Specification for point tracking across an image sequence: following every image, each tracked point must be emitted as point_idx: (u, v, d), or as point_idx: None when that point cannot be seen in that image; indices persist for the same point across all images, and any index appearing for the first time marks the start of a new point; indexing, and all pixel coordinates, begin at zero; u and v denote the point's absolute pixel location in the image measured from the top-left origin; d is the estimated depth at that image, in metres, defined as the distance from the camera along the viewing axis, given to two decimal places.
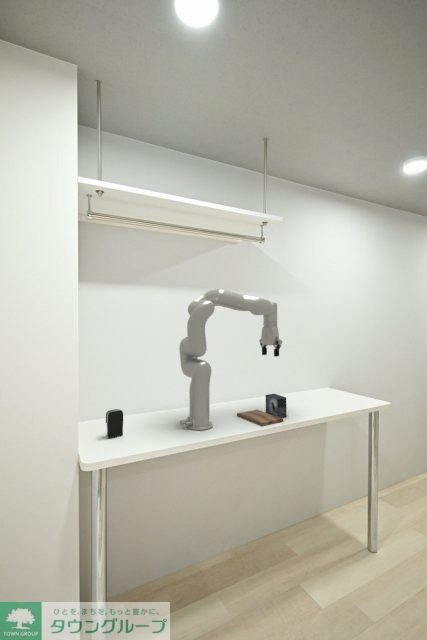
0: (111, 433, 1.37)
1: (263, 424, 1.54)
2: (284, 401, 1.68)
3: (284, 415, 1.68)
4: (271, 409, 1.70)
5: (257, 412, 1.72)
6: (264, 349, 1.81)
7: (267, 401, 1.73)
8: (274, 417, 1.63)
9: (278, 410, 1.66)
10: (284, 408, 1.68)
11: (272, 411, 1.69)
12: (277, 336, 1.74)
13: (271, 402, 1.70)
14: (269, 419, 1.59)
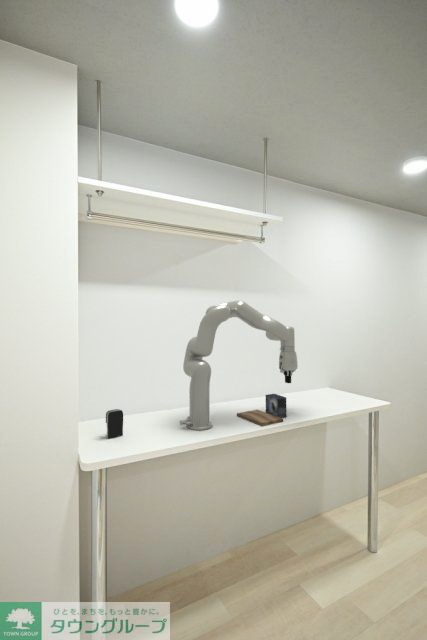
0: (111, 433, 1.37)
1: (263, 424, 1.54)
2: (284, 401, 1.68)
3: (284, 415, 1.68)
4: (271, 409, 1.70)
5: (257, 412, 1.72)
6: None
7: (267, 401, 1.73)
8: (274, 417, 1.63)
9: (278, 410, 1.66)
10: (284, 408, 1.68)
11: (272, 411, 1.69)
12: None
13: (271, 402, 1.70)
14: (269, 419, 1.59)
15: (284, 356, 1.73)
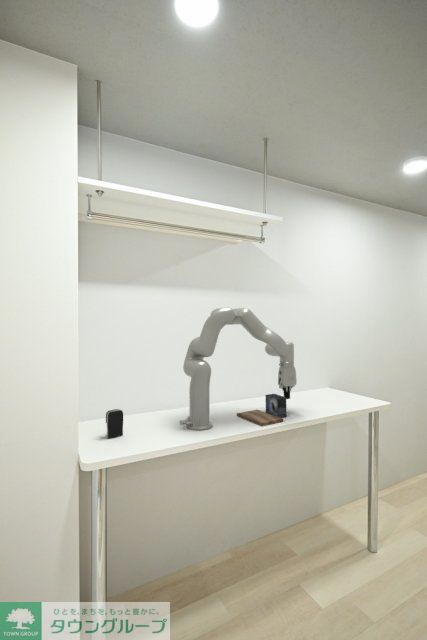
0: (111, 433, 1.37)
1: (263, 424, 1.54)
2: (284, 401, 1.68)
3: (284, 415, 1.68)
4: (271, 409, 1.70)
5: (257, 412, 1.72)
6: None
7: (267, 401, 1.73)
8: (274, 417, 1.63)
9: (278, 410, 1.66)
10: (284, 408, 1.68)
11: (272, 411, 1.69)
12: None
13: (271, 402, 1.70)
14: (269, 419, 1.59)
15: (283, 372, 1.72)
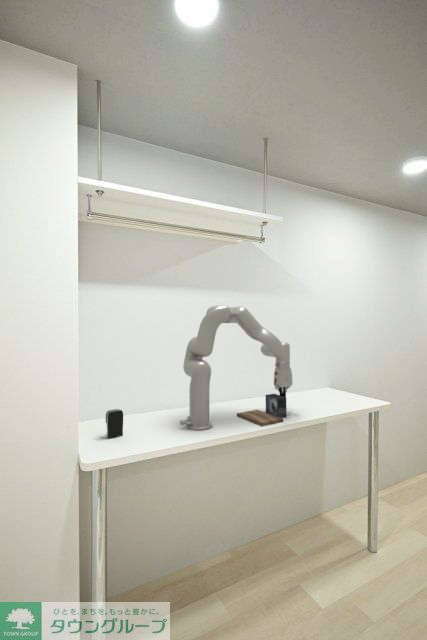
0: (111, 433, 1.37)
1: (263, 424, 1.54)
2: (284, 401, 1.68)
3: (284, 415, 1.68)
4: (271, 409, 1.70)
5: (257, 412, 1.72)
6: None
7: (267, 401, 1.73)
8: (274, 417, 1.63)
9: (278, 410, 1.66)
10: (284, 408, 1.68)
11: (272, 411, 1.69)
12: None
13: (271, 402, 1.70)
14: (269, 419, 1.59)
15: (279, 372, 1.70)
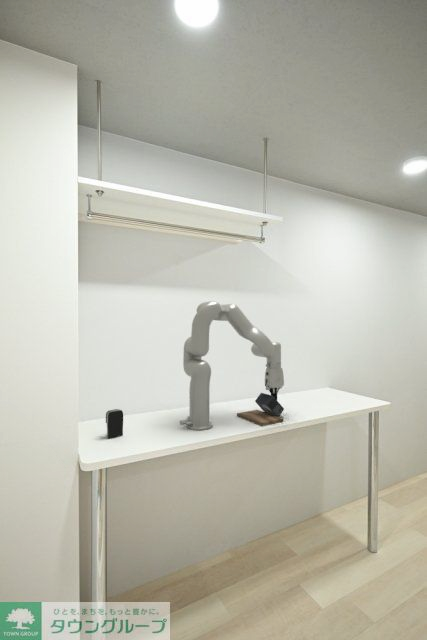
0: (111, 433, 1.37)
1: (263, 424, 1.54)
2: (274, 400, 1.65)
3: (281, 410, 1.67)
4: (268, 412, 1.69)
5: (257, 412, 1.72)
6: None
7: (260, 406, 1.71)
8: (274, 417, 1.63)
9: (273, 412, 1.65)
10: (277, 405, 1.66)
11: (270, 413, 1.68)
12: None
13: (264, 407, 1.67)
14: (269, 419, 1.59)
15: (270, 373, 1.67)
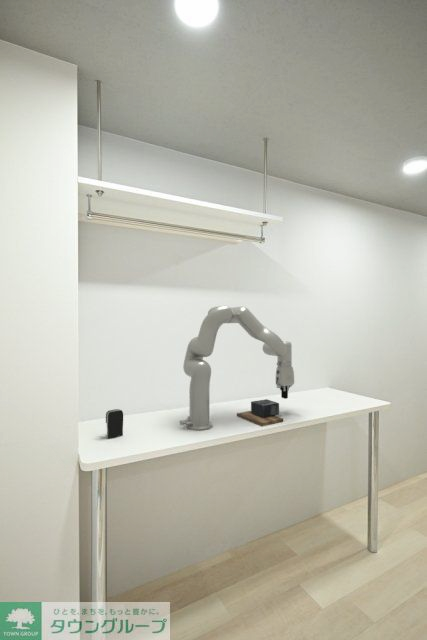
0: (111, 433, 1.37)
1: (263, 424, 1.54)
2: (266, 407, 1.62)
3: (277, 406, 1.66)
4: None
5: None
6: None
7: None
8: (274, 417, 1.63)
9: (272, 415, 1.64)
10: (271, 407, 1.64)
11: None
12: None
13: None
14: (269, 419, 1.59)
15: (281, 371, 1.71)
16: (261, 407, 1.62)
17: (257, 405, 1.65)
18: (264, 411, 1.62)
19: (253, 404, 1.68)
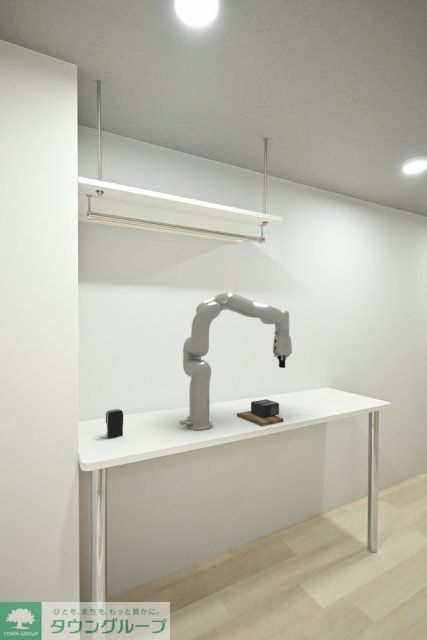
0: (111, 433, 1.37)
1: (263, 424, 1.54)
2: (265, 407, 1.62)
3: (277, 406, 1.66)
4: None
5: None
6: None
7: None
8: (274, 417, 1.63)
9: (272, 415, 1.64)
10: (271, 407, 1.64)
11: None
12: None
13: None
14: (269, 419, 1.59)
15: (278, 340, 1.70)
16: (261, 407, 1.62)
17: (257, 405, 1.65)
18: (264, 411, 1.62)
19: (253, 404, 1.68)
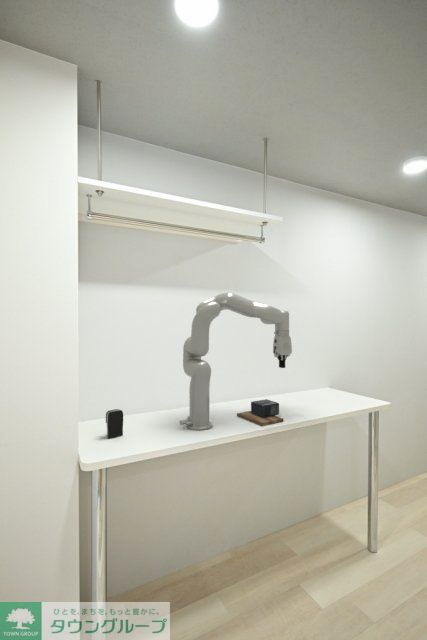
0: (111, 433, 1.37)
1: (263, 424, 1.54)
2: (265, 407, 1.62)
3: (277, 406, 1.66)
4: None
5: None
6: None
7: None
8: (274, 417, 1.63)
9: (272, 415, 1.64)
10: (271, 407, 1.64)
11: None
12: None
13: None
14: (269, 419, 1.59)
15: (278, 340, 1.70)
16: (261, 407, 1.62)
17: (257, 405, 1.65)
18: (264, 411, 1.62)
19: (253, 404, 1.68)
